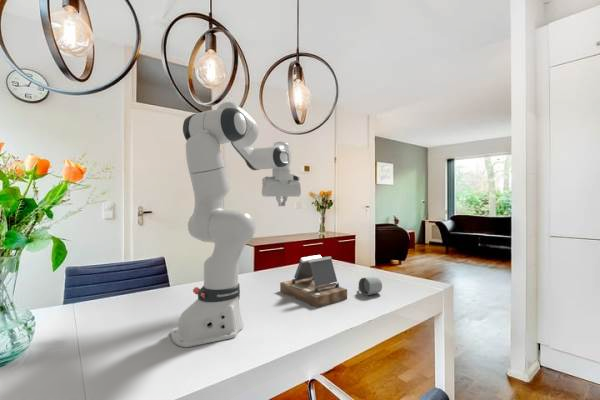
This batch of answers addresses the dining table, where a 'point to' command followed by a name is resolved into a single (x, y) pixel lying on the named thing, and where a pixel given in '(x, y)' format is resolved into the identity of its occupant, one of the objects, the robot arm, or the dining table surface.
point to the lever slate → (323, 271)
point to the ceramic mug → (370, 285)
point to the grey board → (305, 268)
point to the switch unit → (313, 291)
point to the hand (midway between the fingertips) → (281, 206)
